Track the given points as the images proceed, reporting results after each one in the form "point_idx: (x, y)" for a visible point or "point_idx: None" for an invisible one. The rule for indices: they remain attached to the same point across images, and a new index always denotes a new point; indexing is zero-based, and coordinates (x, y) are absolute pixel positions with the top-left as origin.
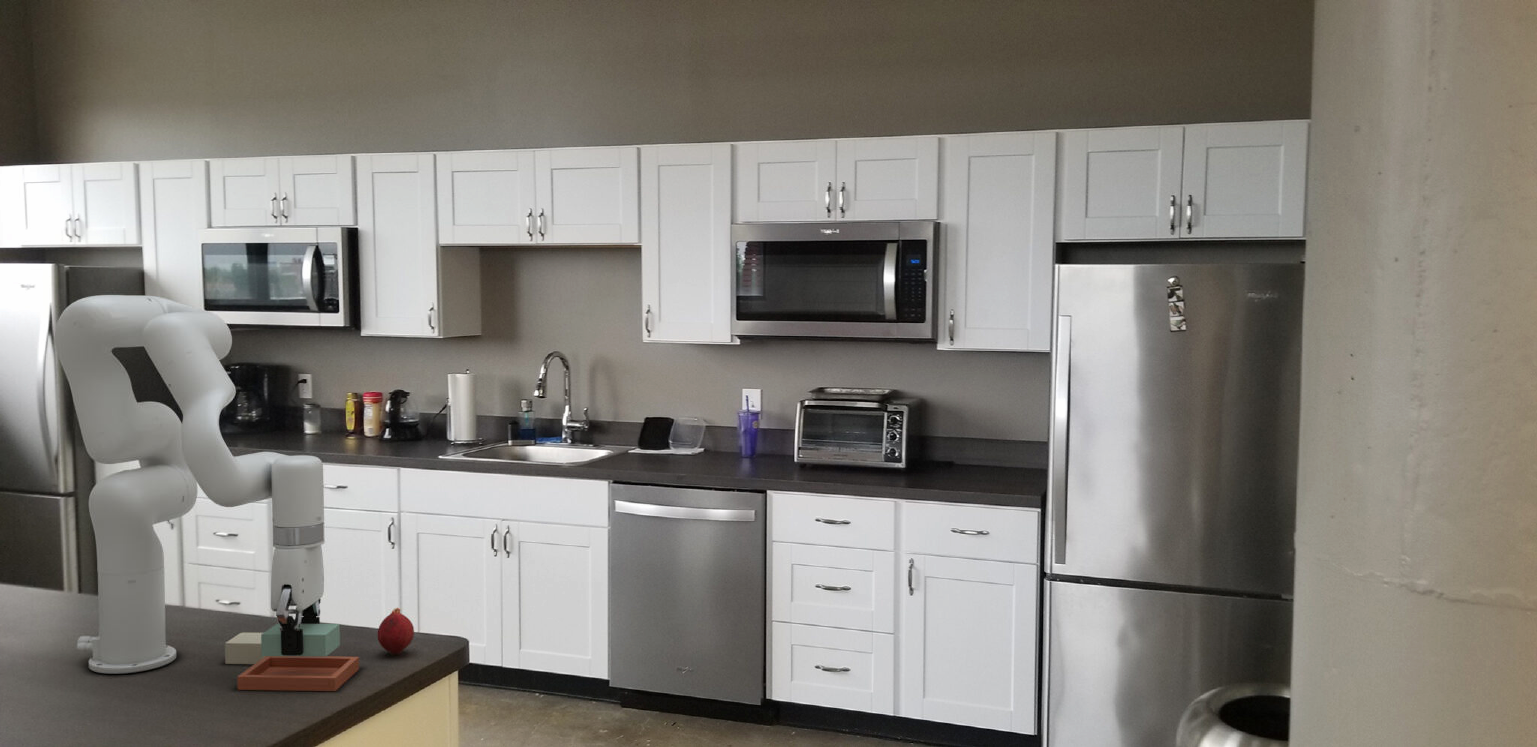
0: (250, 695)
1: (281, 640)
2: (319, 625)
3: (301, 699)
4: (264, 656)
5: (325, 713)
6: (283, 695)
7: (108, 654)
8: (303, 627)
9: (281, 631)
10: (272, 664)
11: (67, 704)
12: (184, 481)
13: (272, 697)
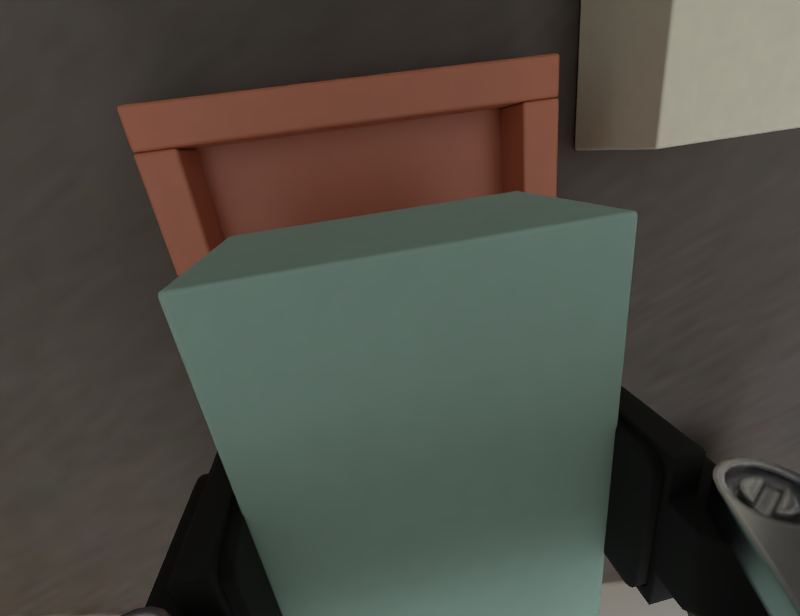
0: (108, 239)
1: (207, 483)
2: (553, 589)
3: (160, 464)
4: (607, 4)
5: (67, 601)
6: (174, 379)
7: None
8: (496, 525)
9: (175, 570)
10: (502, 123)
11: None
12: None
13: (130, 351)
